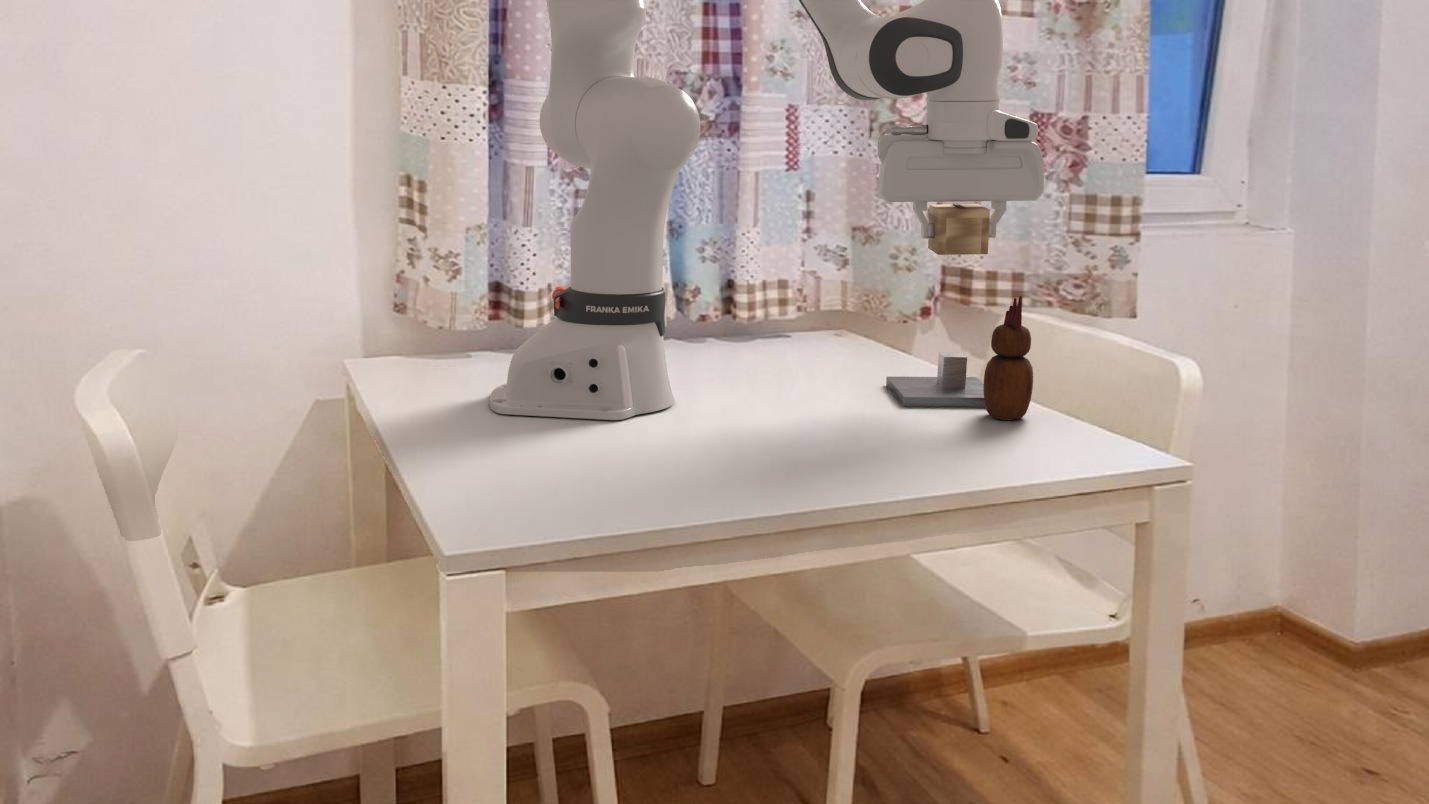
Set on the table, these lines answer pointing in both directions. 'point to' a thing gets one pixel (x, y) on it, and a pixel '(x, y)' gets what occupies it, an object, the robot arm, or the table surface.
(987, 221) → the wooden coin bank
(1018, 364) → the wooden figurine
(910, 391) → the plate
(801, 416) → the table surface
